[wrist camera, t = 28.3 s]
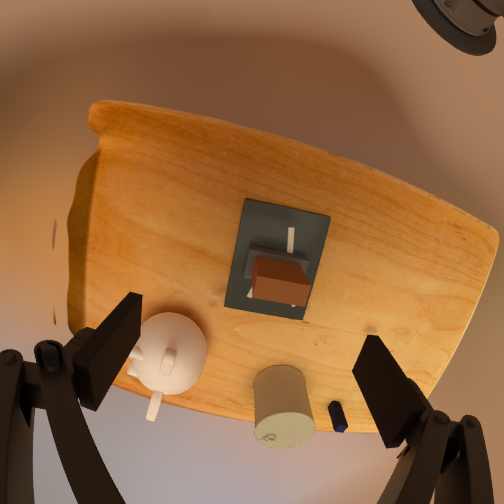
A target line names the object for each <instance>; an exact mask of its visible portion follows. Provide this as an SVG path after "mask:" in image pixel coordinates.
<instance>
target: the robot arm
mask: <svg viewBox="0 0 504 504" xmlns="http://www.w3.org/2000/svg"><path fill="white" fill-rule="evenodd" d="M431 1H432V3H433V4H434V6H435V7H436V9H437V10H438V11H439V13H440V14H441V15H442V16H443V17H444V18H445V19H446V20H447V21H448V22H449V23H450V24H451V25H452V26H454V27H455V28H456V29H457V30H459V31H460V32H462V33H464V34H466V35H468V36H472V37H479V36H481V35H483V34H485V33H486V32H488V31H489V30H490V29H489V28H490V27H491V26H492V24H493V23H494V21H495V20H496V19H497V17H499V16H501V15H502V16H503V17H504V0H431ZM141 312H142V295H141V294H137V293H133V292H129V293H128V294H127V296H126V297H125V298H124V299H123V300H122V301H121V302H120V303H119V304H118V305H117V306H116V308H115V309H114V310H113V311H112V312H111V313H110V314H109V315H108V316H107V317H106V319H105V320H104V321H103V322H102V323H101V324H100V325H99V326H98V328H97V329H96V330H95V329H92V328H89V327H86V328H84V329H82V330H80V331H78V332H77V333H76V334H75V336H74V337H73V338H72V339H71V340H70V341H69V342H68V343H67V344H66V345H65V346H64V347H63V346H62V344H61V343H59V342H57V341H54V340H45V341H41V342H39V343H37V345H36V346H35V348H34V354H35V358H36V363H33V362H27V361H24V360H23V356H22V355H21V353H20V352H18V351H16V350H13V349H7V350H4V351H2V352H1V353H0V504H35V503H34V490H33V431H34V430H33V429H34V416H35V408H40V409H46V412H47V416H48V420H49V424H50V427H51V431H52V434H53V438H54V441H55V444H56V447H57V451H58V454H59V457H60V460H61V462H62V465H63V468H64V471H65V473H66V476H67V478H68V481H69V483H70V486H71V489H72V491H73V493H74V495H75V498H76V500H77V502H78V504H126V503H125V501H124V500H123V498H122V496H121V494H120V493H119V491H118V489H117V488H116V485H115V484H114V482H113V480H112V478H111V476H110V474H109V472H108V470H107V468H106V466H105V464H104V462H103V460H102V458H101V456H100V454H99V452H98V449H97V447H96V445H95V443H94V440H93V438H92V436H91V434H90V431H89V429H88V426H87V423H86V421H85V418H84V416H83V413H82V410H81V408H80V405H79V402H78V398H79V400H80V404H81V406H82V407H85V408H87V409H90V410H93V411H97V409H98V407H99V406H100V404H101V402H102V400H103V398H104V397H105V395H106V393H107V392H108V390H109V388H110V386H111V385H112V383H113V381H114V379H115V378H116V376H117V374H118V373H119V371H120V369H121V368H122V366H123V364H124V363H125V361H126V359H127V358H128V356H129V354H130V353H131V351H132V349H133V348H134V346H135V344H136V343H137V341H138V340H139V338H140V336H141ZM352 372H353V374H354V377H355V379H356V381H357V383H358V385H359V388H360V390H361V392H362V394H363V396H364V399H365V401H366V403H367V405H368V408H369V410H370V412H371V414H372V417H373V419H374V421H375V424H376V426H377V428H378V430H379V433H380V435H381V437H382V440H383V442H384V444H385V447H386V448H395V447H399V446H400V445H401V443H402V442H403V441H404V440H406V442H407V446H406V447H405V448H404V449H403V451H402V452H401V453H400V454H399V455H398V457H397V458H399V457H400V459H399V461H398V463H397V465H396V467H395V469H394V471H393V474H392V476H391V478H390V480H389V482H388V484H387V485H386V487H385V489H384V491H383V493H382V495H381V497H380V499H379V501H378V502H377V504H430V501H431V498H432V495H433V492H434V489H435V496H434V504H494V497H493V488H492V480H491V473H490V468H489V461H488V456H487V450H486V445H485V440H484V436H483V431H482V427H481V424H480V422H479V421H478V419H477V418H475V417H474V416H471V415H465V416H463V418H462V419H461V420H460V422H455V421H451V420H450V418H449V416H447V415H446V414H445V413H443V412H442V411H438V410H434V409H433V408H432V406H431V405H430V403H429V402H428V400H427V399H426V397H425V396H424V394H423V393H422V391H420V388H419V387H418V385H417V384H416V383H415V382H414V381H413V380H411V379H410V378H407V377H406V375H405V374H404V372H403V371H402V369H401V368H400V366H399V365H398V363H397V362H396V360H395V359H394V358H393V356H392V355H391V353H390V352H389V350H388V349H387V347H386V346H385V345H384V343H383V342H382V340H381V339H380V337H379V336H376V335H367V337H366V340H365V342H364V345H363V347H362V349H361V352H360V354H359V356H358V359H357V361H356V363H355V365H354V368H353V370H352Z"/></svg>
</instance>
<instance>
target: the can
mask: <svg viewBox="0 0 504 504" xmlns="http://www.w3.org/2000/svg"><path fill="white" fill-rule="evenodd" d="M253 388H254V397H255V430H254V435H255V438H256V439H257V441H259V442H260V443H261V444H262V445H264V446H267V447H270V448H276V449H286V448H292V447H296V446H298V445H301V444H303V443H305V442H306V441H308V440H309V439H310V438H311V437H312V436H313V434H314V432H315V429H316V425H315V422H314V419H313V415H312V411H311V407H310V403H309V398H308V394H307V389H306V381H305V377H304V375H303V374H302V373H301V372H300V371H299V370H298V369H296V368H294V367H291V366H287V365H277V366H272V367H269V368H267V369H265V370H263V371H262V372H260V373H259V374H258V375H257V377H256V378H255V380H254V384H253Z"/></svg>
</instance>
